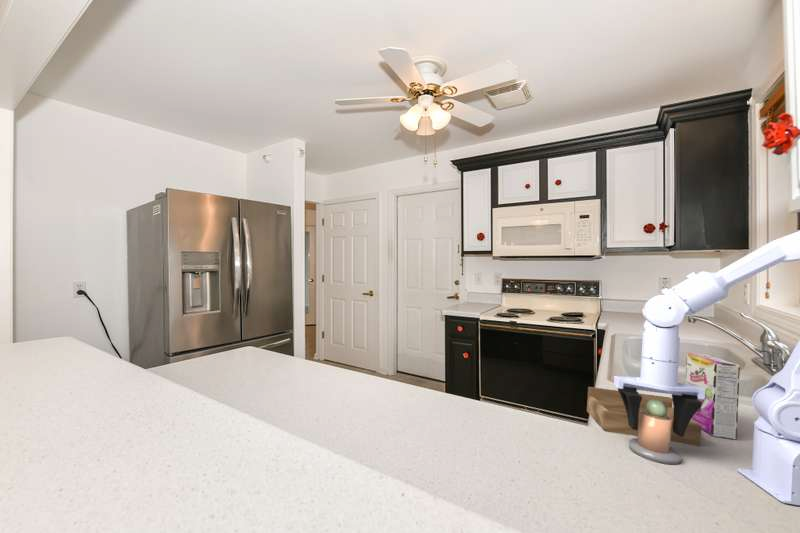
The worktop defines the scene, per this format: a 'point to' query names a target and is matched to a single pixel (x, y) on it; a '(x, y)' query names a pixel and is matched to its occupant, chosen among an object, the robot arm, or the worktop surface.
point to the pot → (654, 427)
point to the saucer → (655, 454)
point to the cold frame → (613, 417)
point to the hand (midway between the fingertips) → (655, 431)
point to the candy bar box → (715, 393)
